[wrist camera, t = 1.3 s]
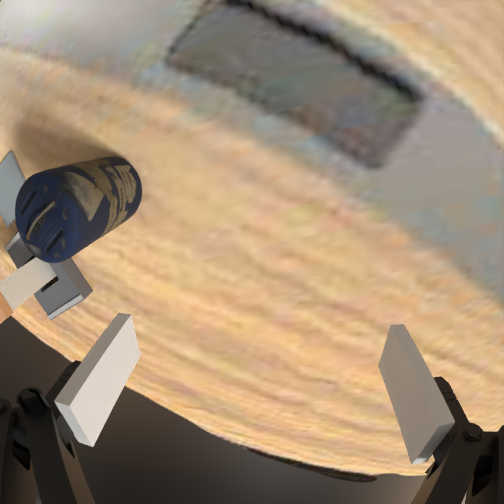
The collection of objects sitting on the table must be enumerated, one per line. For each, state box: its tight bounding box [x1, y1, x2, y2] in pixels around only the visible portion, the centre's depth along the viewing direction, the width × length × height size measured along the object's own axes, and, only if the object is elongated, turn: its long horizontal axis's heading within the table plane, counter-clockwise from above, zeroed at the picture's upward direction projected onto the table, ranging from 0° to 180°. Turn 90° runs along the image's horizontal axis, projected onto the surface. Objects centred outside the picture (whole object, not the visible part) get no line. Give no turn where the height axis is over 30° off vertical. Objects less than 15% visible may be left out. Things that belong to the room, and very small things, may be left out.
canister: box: [15, 157, 142, 263], centre depth 32 cm, size 10×10×18 cm
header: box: [5, 232, 93, 320], centre depth 44 cm, size 16×11×3 cm
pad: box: [0, 151, 26, 227], centre depth 41 cm, size 10×10×1 cm
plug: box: [0, 257, 56, 324], centre depth 38 cm, size 5×5×16 cm
